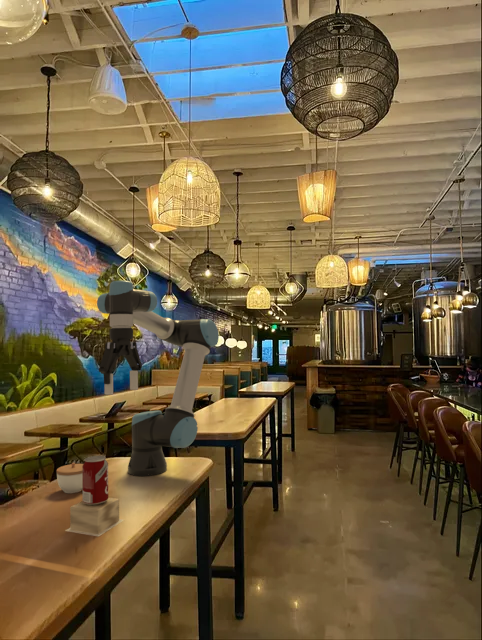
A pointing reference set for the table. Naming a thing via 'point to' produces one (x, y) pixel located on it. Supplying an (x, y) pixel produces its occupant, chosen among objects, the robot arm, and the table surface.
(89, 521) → the beech block
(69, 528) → the grey square plate
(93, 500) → the soda can
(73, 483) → the lidded jar
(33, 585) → the table surface
